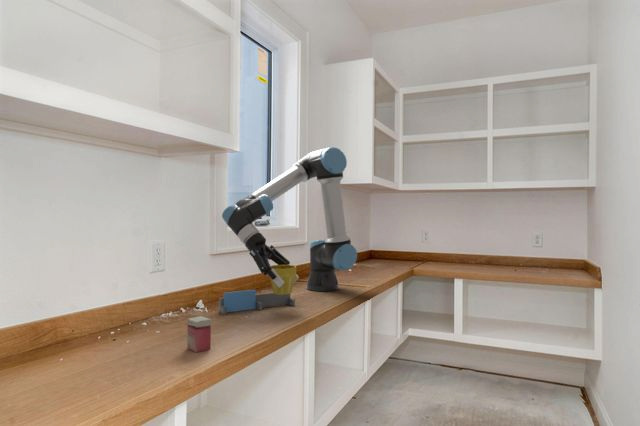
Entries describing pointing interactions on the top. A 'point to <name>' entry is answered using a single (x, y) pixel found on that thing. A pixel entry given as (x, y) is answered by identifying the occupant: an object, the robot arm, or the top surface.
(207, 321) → the small box
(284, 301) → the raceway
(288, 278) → the plant pot
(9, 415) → the top surface
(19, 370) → the top surface
